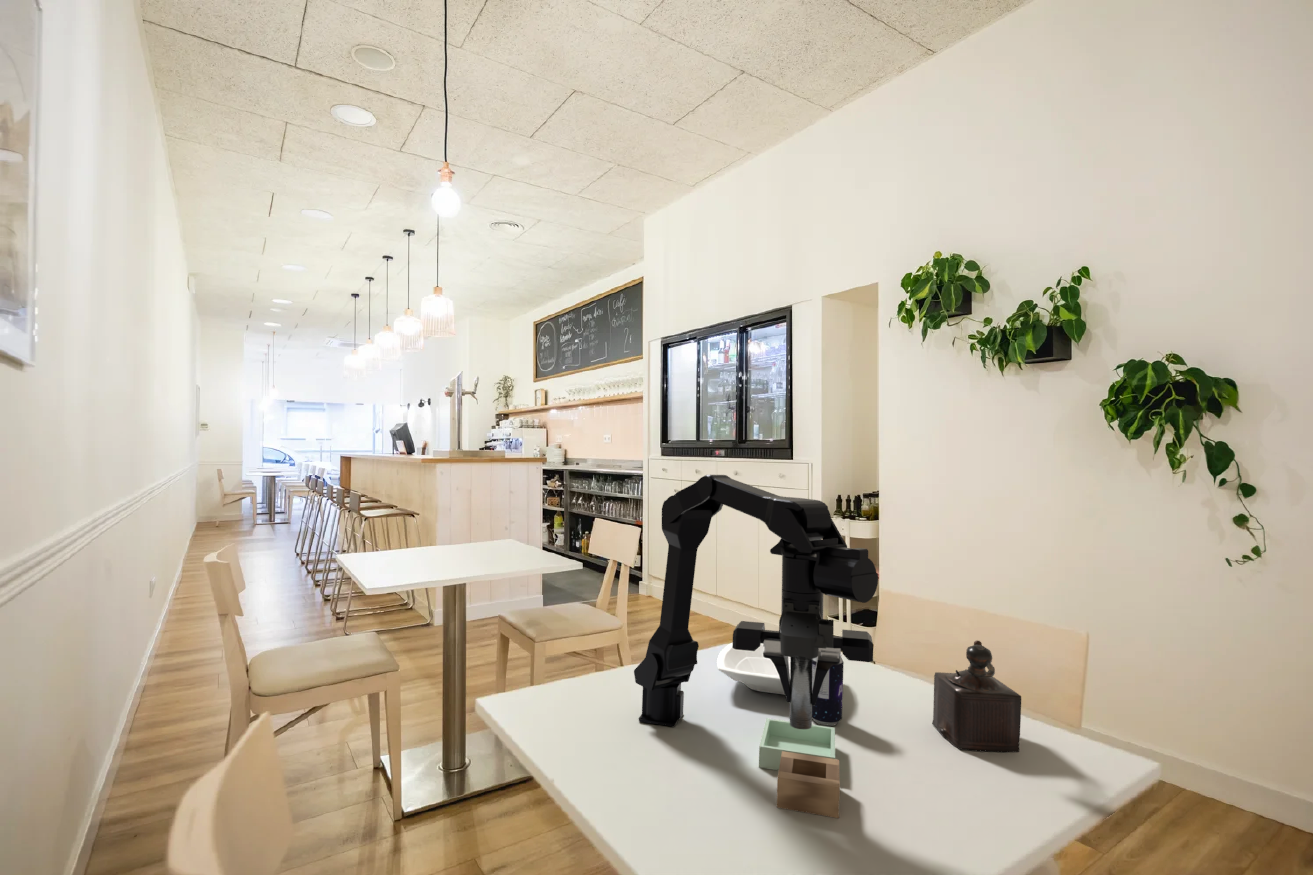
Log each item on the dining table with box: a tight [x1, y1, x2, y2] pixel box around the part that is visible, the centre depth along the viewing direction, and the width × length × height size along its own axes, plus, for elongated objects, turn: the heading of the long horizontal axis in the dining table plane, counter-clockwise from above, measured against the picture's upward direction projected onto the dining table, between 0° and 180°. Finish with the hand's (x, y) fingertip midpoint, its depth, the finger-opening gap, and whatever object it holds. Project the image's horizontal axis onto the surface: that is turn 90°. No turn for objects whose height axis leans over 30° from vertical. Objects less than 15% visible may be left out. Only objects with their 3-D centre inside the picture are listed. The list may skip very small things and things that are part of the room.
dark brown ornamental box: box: [931, 640, 1022, 753], centre depth 109 cm, size 16×11×18 cm
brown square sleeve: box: [776, 751, 841, 819], centre depth 90 cm, size 8×8×4 cm
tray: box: [758, 717, 836, 771], centre depth 102 cm, size 11×11×3 cm
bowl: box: [716, 641, 791, 696], centre depth 132 cm, size 22×23×6 cm
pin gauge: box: [789, 656, 813, 729], centre depth 91 cm, size 3×3×10 cm
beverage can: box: [812, 654, 845, 727], centre depth 116 cm, size 6×6×12 cm
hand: (801, 702), depth 91 cm, fingers closed on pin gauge, 3 cm apart
